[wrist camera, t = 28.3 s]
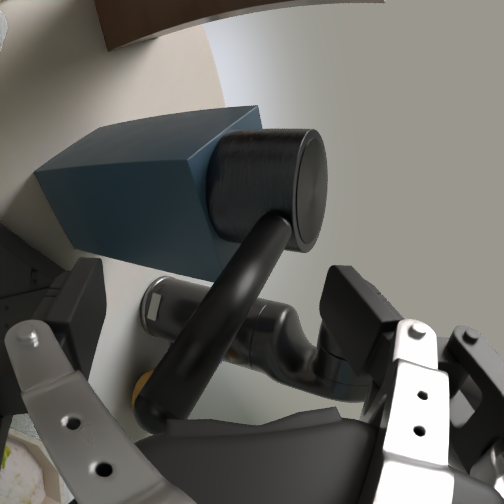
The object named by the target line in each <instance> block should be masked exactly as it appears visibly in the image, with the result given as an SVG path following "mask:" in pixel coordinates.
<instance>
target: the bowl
mask: <svg viewBox="0 0 504 504" xmlns="http://www.w3.org/2000/svg"><path fill="white" fill-rule="evenodd" d="M0 504H66V501H65V489H64V481H63V479H62V477H61V476H60V474H59V472H58V471H57V469H56V467H55V465H54V464H53V462H52V460H51V458H50V456H49V454H48V453H47V451H46V449H45V447H44V445H43V443H42V441H40V440H38V439H36V438H33V437H31V436H28V435H26V434H24V433H21V432H19V431H17V430H15V429H13V428H9V432H8V437H7V441H6V445H5V450H4V455H3V460H2V465H1V471H0Z"/></svg>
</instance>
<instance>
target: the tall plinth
mask: <svg viewBox="0 0 504 504" xmlns="http://www.w3.org/2000/svg"><path fill="white" fill-rule="evenodd" d="M331 3H332V4H333V3H385V0H95V4H96V8H97V12H98V15H99V19H100V23H101V27H102V31H103V34H104V38H105V41H106V45H107V48H108V51H112V50H115V49H118V48H121V47H124V46H127V45H131V44H134V43H137V42H141V41H145V40H148V39H152V38H156V37H160V36H163V35H166V34H169V33H172V32H175V31H179V30H182V29H185V28H189V27H192V26H196V25H200V24H203V23H207V22H211V21H215V20H219V19H223V18H229V17H233V16H237V15H243V14H248V13H254V12H260V11H266V10H272V9H279V8H287V7H295V6H305V5H317V4H331Z"/></svg>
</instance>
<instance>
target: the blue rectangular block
mask: <svg viewBox="0 0 504 504" xmlns="http://www.w3.org/2000/svg"><path fill="white" fill-rule="evenodd" d="M241 129H262V124H261V119H260V114H259V108H258V106H257V105H255V106H241V107H228V108H217V109H207V110H198V111H190V112H183V113H175V114H168V115H162V116H156V117H149V118H144V119H138V120H133V121H127V122H122V123H117V124H113V125H108V126H103V127H100V128H98V129H96V130H95V131H93V132H91V133H90V134H88V135H87V136H85V137H83V138H82V139H80V140H79V141H77V142H76V143H74V144H73V145H71V146H70V147H68V148H67V149H65V150H64V151H62V152H61V153H59V154H58V155H56V156H55V157H54V158H52V159H51V160H49V161H48V162H47V163H45V164H44V165H42V166H41V167H40V168H38V169H37V170H36V171H34V173H35V175H36V178H37V180H38V182H39V184H40V186H41V188H42V190H43V192H44V194H45V196H46V198H47V200H48V202H49V204H50V206H51V207H52V209H53V211H54V213H55V215H56V217H57V219H58V220H59V222H60V224H61V226H62V228H63V229H64V231H65V233H66V235H67V237H68V238H69V240H70V242H71V243H72V245H73V247H74V248H75V249H78V250H82V251H86V252H90V253H94V254H98V255H101V256H105V257H109V258H113V259H117V260H121V261H125V262H129V263H133V264H137V265H141V266H145V267H150V268H154V269H158V270H162V271H166V272H171V273H175V274H179V275H183V276H188V277H192V278H196V279H201V280H205V281H210V282H215V281H216V280H217V278H218V277H219V275H220V274H221V272H222V271H223V269H224V268H225V267H226V265H227V264H228V262H229V261H230V259H231V258H232V257H233V255H234V254H235V252H236V251H237V249H238V248H239V247H240V245H241V244H240V243H233V242H228V241H225V240H223V239H222V238H221V237H220V236H219V235H218V234H217V233H216V231H215V230H214V228H213V226H212V224H211V221H210V218H209V214H208V210H207V204H206V176H207V170H208V166H209V162H210V158H211V156H212V153H213V151H214V148H215V146H216V145H217V143H218V142H219V140H220V139H221V138H222V137H223V136H224V135H225V134H226V133H228V132H229V131H232V130H241Z"/></svg>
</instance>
